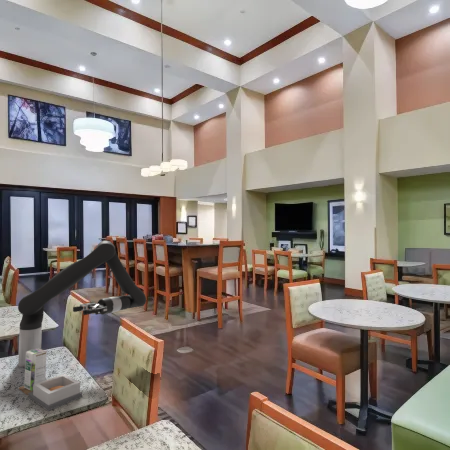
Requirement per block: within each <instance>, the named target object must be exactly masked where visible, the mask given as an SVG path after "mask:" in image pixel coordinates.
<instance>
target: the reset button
mask: <svg viewBox="0 0 450 450" xmlns="http://www.w3.org/2000/svg"><path fill="white" fill-rule="evenodd" d="M61 387H64V386H55V387H52V388H50V389H49V390H50V391H53V390H55V389H58V388H61Z"/></svg>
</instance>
